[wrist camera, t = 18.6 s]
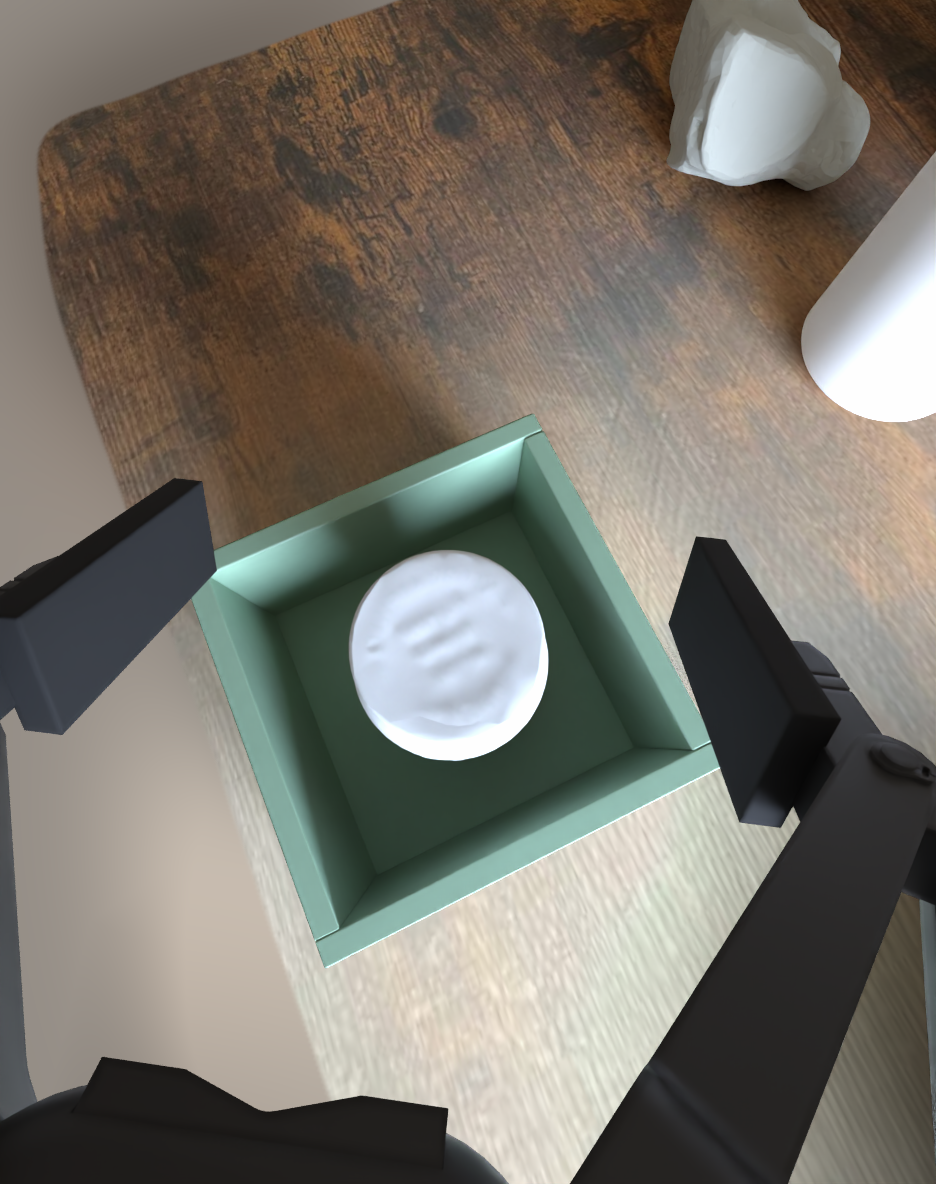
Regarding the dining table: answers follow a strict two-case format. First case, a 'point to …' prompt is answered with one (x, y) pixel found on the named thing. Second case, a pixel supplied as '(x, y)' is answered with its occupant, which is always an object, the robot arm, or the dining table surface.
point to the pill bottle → (448, 655)
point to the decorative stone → (761, 97)
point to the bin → (409, 781)
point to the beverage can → (882, 315)
